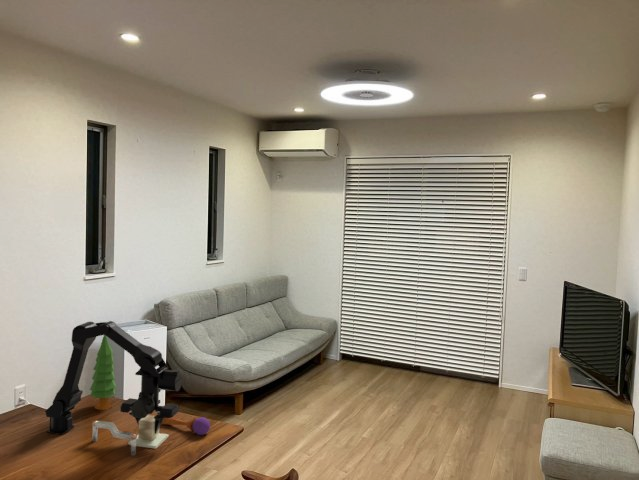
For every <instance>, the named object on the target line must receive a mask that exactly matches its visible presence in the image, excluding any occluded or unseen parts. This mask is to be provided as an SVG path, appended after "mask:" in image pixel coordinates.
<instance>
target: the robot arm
mask: <svg viewBox="0 0 639 480" xmlns="http://www.w3.org/2000/svg"><path fill="white" fill-rule="evenodd" d="M104 335H106V337H107V339H110V341H113V342H114V343H115V344H117V346H118V347H120V348H122V350H124V351H125V352H127V353H128V354H129V355H131V357H132V358H133V359H134V362H135V364H137V366H139V367H140V368H139V369H138V371H136V372H135V373H134V375H135V376H141V382H140V386H141V387H140V392H139V393H138V398H131V397H130V398H128V399H126V400H125V401H123V402H122V403H121V404H120V407H119V408H120V409H119V410H120V411H119V412H120V413H127V414H129V416H132V418H133V417H134V419H135V421H136V423H137V426H138V427H139V420H140V419H142V418H145V417H146V416H147V415H153V413H154V412H156V415H154V416H155V417H154V419H155V434H156V433H157V432H158V430H159V431H160V427H161V425H162V424H161V423H162V421H163V419H164V418H172V417H173V418H174V416H176V414H178V412H179V406H178V404H177V403H171V402H167V403H166V404H165V405H159V404H161V399H159V398H160V397H159V395H160V394H159V393H160V392H161V391H172V392H179V391H180V390H181V388H182V383H183V377H182V375H181V373H180V372H181V371H180V369H175V370H173V369H169V366H168V365H167V363H166V361H165V359H164V358H163V355H162V352H161V351H159V350H158V349H156V348H154V347H152V346H149V345H146V344H143V343H141V342H140V341H138V340H137V339H136V338H135V337H133V336H132V335H130V333H128V332H127V331H125V330H124V329H122V328H121V327H120V326H118V325H117V323H116V322H115V321H112V320H110V321H109V320H108V321H103V322H102V321H101V322H93V321H87V322H85V323H81V324H79V325H77V326H75V327H74V328H73V329H72V332H71V343H72V346H73V348H72V352H71V356H70V359H69V363H68V366H67V369H66V374H65V377H64V381H63V385H62V386H61V387H60V388H59V390H58V392H57V393H56V395H55V396H54V398H53V399H52V400H53V401H52V404H51V405H50V406H49V407H48V408H47V409H46V410H45V411H44V412H45V415H46V417H47V418H49V429H46V433H48V434H56V435H64V434H65V433H67V432H69V431H70V430H72V429H73V428H75V425H74V424H73V416H72V410H74V409H75V408H76V405H78V404H79V402H80V401H82V395H83V394H84V390H82V389H81V390H80V388H79V383H80V380H81V376H82V373H83V369H84V366H85V363H86V362H85V361H86V358H87V355H88V352H89V349H90V347H91V346H92V345H93V343H94V342H95V340H96V338H97V337H99V336H104ZM156 367H157V368H156Z"/></svg>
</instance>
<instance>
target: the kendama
mask: <svg viewBox="0 0 639 480" xmlns="http://www.w3.org/2000/svg"><path fill="white" fill-rule="evenodd" d="M161 425H170V426H171V425H175V426H176V425H177V426H179V425H180V426H186V428H188V429H189V430H190V431H191V432H194V433H195V435H198V436H204V435H207V434H208V432H209V431H210V428H211V423H210V421H209V419H208V418H206V417H203V416H202V417H197V418H193V419H190V420H187V421H184V420H181V419H180V418H175V417H174V416H173V417H172V418H164V419H163V421H162V423H161Z"/></svg>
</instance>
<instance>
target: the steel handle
mask: <svg viewBox="0 0 639 480" xmlns="http://www.w3.org/2000/svg"><path fill="white" fill-rule="evenodd" d="M91 426H92V433H91V434H92V438H91V440H92V441H91V442H92V443H95V442H98V434H99V433H98V430H99V429H105V430H106V429H107V430H109V431H110V433H111V435H112V436H113V438H115V439H122V440H128V441H131V445H130V456H132V457H134V456H136V455H137V446H136V438H137V435H138V434H137V433H135V432H129V431H128V432H127V431H121V430H119V429H118V427H117V425H116V424H115V423H114V422H111V421H104V420H94V421H92V423H91Z"/></svg>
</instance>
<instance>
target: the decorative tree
mask: <svg viewBox="0 0 639 480" xmlns="http://www.w3.org/2000/svg"><path fill="white" fill-rule="evenodd" d="M113 353H114V351H113V349H112V347H111V345H110V343H109V341H108V337H107V336H106V335H103V337H102V340H101V343H100V347H99V349H98V351H97V354H96V355H97V356H96V359H95V362H96V363H95V364H94V367H93V370H94V373H93V376H92V377H91V379H92V380H93V382H92V384H91V386H90V388H89V391H91V393H90V396H91V397H92V398H94V399H98V402H97V403H96V405H95V406H94V409H96V410H98V411H99V410H102V411H105V410H108V409H111V408H112V405H111V404H110V400H109V398H110V397H113V396H115V395H116V394H115V393H116V390H115V388H117V387H116V386H117V384H116V382H115V373H114V368H115V366H114V361H115V359H114V357H113Z"/></svg>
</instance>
